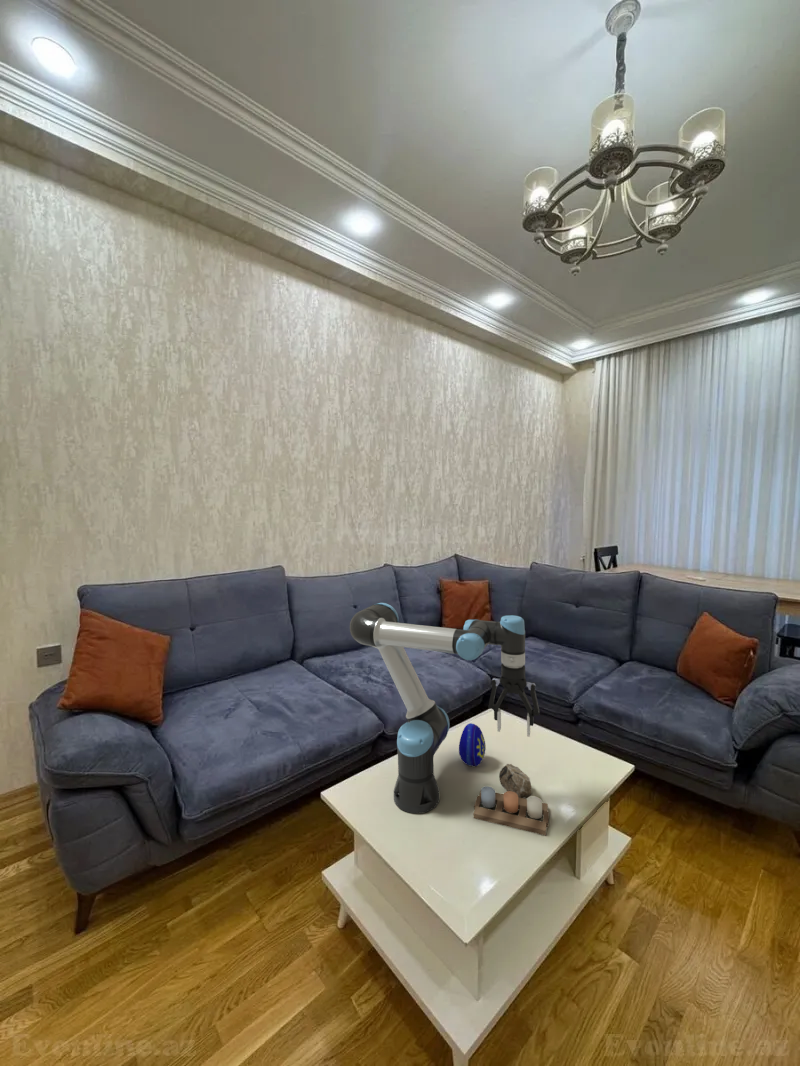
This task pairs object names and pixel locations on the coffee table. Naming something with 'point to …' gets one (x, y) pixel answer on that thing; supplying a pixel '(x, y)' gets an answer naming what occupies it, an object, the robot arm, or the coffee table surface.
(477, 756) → the ornament
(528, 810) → the button cream
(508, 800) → the button terracotta
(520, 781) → the stone
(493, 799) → the button slate
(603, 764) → the coffee table surface
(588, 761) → the coffee table surface
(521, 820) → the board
